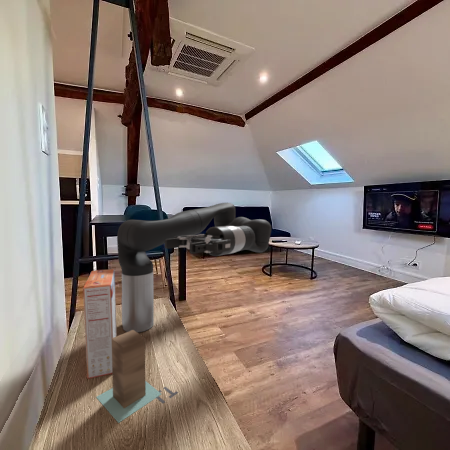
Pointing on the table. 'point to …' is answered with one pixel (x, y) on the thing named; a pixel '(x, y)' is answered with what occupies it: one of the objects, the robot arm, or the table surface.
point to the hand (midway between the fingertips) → (177, 246)
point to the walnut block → (128, 367)
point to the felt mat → (123, 413)
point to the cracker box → (99, 321)
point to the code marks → (168, 392)
